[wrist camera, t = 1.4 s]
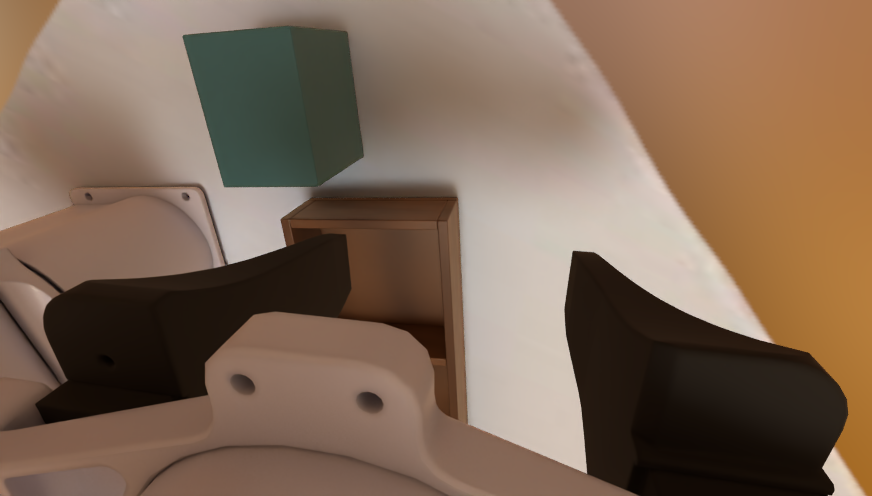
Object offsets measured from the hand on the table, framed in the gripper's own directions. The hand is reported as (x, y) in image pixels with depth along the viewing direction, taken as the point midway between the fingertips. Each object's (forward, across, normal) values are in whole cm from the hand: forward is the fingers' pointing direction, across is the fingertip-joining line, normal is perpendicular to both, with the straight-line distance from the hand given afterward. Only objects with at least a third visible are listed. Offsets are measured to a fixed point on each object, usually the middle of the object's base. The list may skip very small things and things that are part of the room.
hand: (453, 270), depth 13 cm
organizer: (+10, +5, +13) cm, 17 cm away
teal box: (+10, +9, -4) cm, 14 cm away
